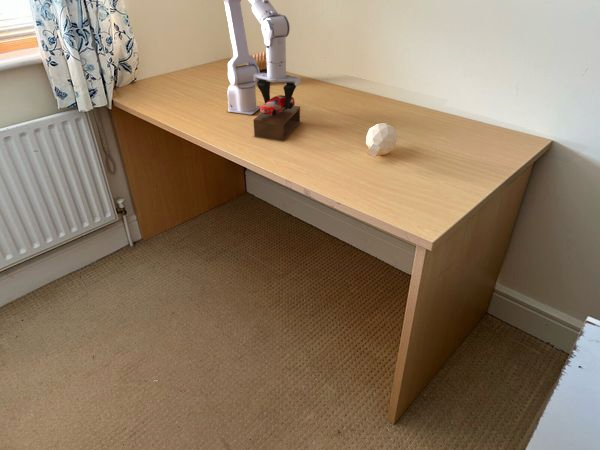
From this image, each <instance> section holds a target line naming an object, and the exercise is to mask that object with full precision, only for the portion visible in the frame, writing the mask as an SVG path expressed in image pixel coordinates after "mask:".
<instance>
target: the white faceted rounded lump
mask: <svg viewBox="0 0 600 450" xmlns="http://www.w3.org/2000/svg"><path fill="white" fill-rule="evenodd" d="M397 143H398V133H397V131H396V130H395V128H394V126H393V125H390V124H388V123H386V122H382V123H381V122H380V123H377V124H375V125H373V126H371V127H369V129H368V131H367V133H366V135H365V145H366V146H367V148H368V152H367V155H368V156H371V157H373V158H376V157H377V156H382V155H387V154H388V153H390V152H393V150H394V149H395V147H396V145H397Z"/></svg>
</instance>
